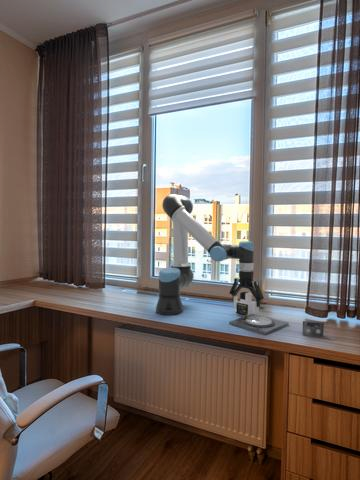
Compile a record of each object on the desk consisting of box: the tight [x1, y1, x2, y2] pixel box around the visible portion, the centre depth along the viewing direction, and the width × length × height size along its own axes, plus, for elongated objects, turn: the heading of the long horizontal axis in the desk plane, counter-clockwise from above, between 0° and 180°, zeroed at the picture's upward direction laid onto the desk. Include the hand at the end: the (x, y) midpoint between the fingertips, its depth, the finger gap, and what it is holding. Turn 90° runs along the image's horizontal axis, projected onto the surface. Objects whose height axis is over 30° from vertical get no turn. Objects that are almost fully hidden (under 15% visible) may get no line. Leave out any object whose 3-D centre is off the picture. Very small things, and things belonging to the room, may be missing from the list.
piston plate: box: [228, 313, 289, 336], centre depth 149 cm, size 20×20×2 cm
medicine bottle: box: [235, 291, 256, 317], centre depth 166 cm, size 7×7×12 cm
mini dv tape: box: [301, 320, 325, 338], centre depth 135 cm, size 8×2×6 cm, turn 75°
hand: (245, 310), depth 166 cm, fingers open, 13 cm apart
